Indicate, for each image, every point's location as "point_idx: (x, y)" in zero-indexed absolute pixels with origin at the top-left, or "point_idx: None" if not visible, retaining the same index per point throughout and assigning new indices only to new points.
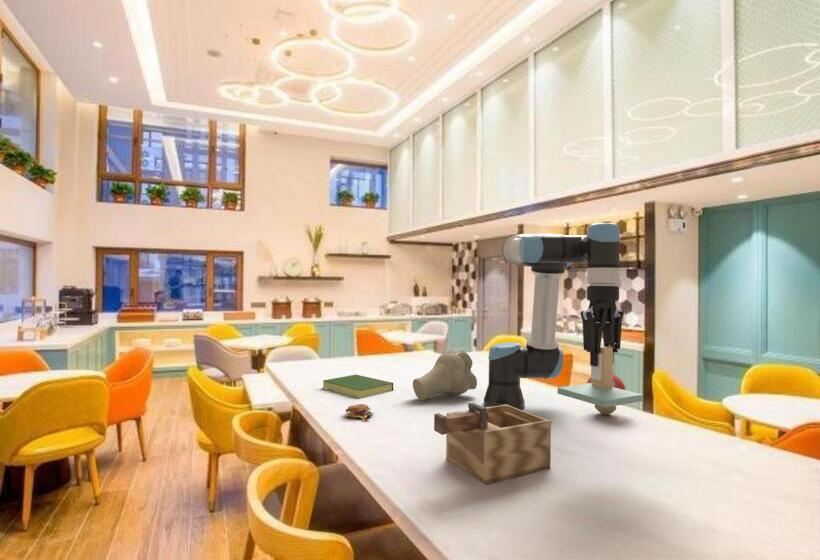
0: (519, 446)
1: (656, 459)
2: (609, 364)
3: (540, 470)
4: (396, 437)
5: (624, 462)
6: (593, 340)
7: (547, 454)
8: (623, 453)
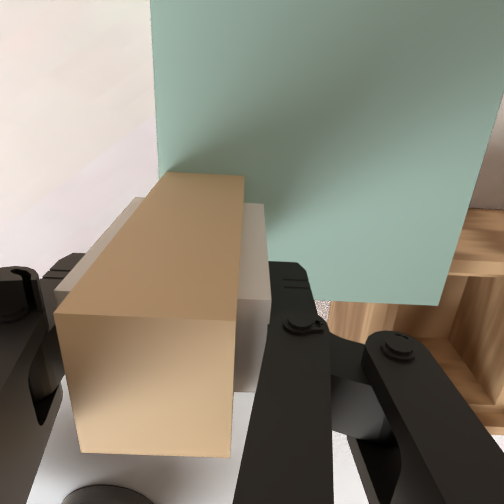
0: (491, 236)
1: (16, 94)
2: (165, 225)
3: None
4: None
5: (129, 130)
6: (441, 448)
7: None
8: (75, 175)
